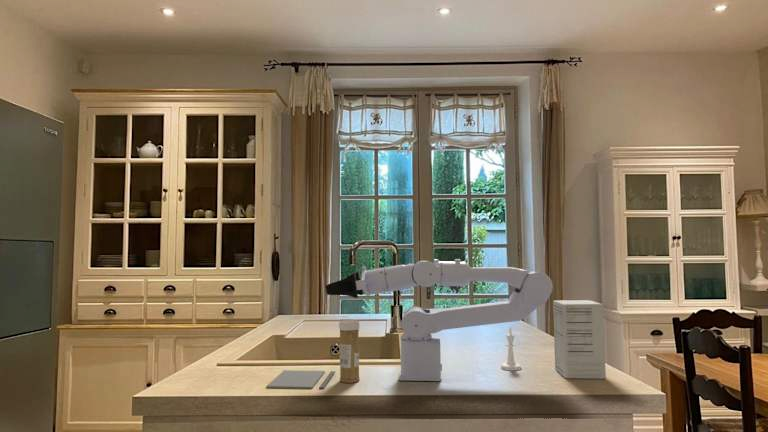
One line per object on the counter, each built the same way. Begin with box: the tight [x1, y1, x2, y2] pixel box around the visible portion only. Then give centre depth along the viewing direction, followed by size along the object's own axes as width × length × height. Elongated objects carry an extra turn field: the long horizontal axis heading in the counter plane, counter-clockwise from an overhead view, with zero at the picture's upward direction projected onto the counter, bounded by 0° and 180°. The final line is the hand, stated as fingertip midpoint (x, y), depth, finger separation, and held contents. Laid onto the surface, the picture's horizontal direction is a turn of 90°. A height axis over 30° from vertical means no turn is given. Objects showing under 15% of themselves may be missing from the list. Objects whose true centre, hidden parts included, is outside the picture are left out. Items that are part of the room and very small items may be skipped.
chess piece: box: [500, 326, 522, 371], centre depth 131 cm, size 5×5×10 cm
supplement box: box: [552, 299, 607, 380], centre depth 125 cm, size 10×9×17 cm
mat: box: [265, 369, 326, 390], centre depth 121 cm, size 10×14×1 cm
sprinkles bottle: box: [338, 319, 361, 384], centre depth 121 cm, size 5×5×14 cm
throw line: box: [318, 370, 336, 390], centre depth 121 cm, size 1×14×1 cm, turn 175°
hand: (329, 288), depth 125 cm, fingers open, 7 cm apart
